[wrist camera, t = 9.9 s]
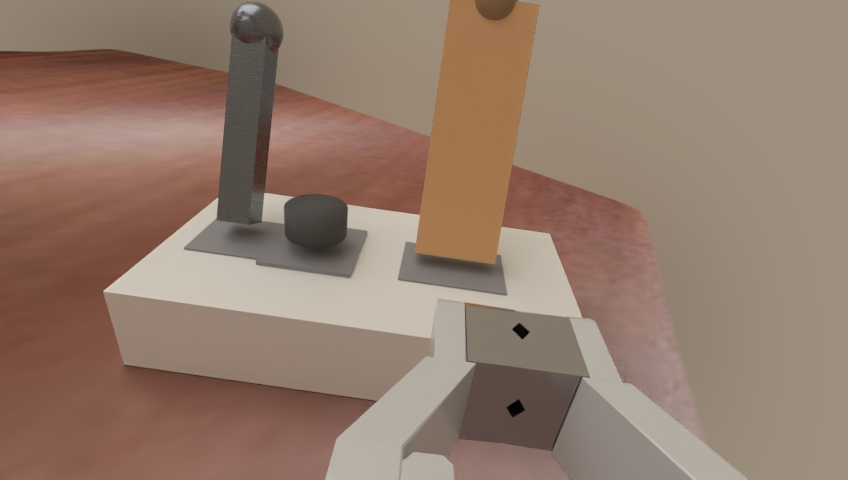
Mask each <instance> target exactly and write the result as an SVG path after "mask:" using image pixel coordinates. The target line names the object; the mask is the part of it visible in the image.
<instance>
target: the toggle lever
mask: <svg viewBox="0 0 848 480" xmlns="http://www.w3.org/2000/svg"><path fill="white" fill-rule="evenodd" d="M230 31H231V35H232V41H231V53H230V65H229V77H228V89H227V101H226V113H225V125H224V136H223V148H222V160H221V172H220V184H219V196H218V208H217V220H218V221H225V222H232V223H239V224H246V225H251V224H256V223H261V222H262V213H263V202H264V192H265V182H266V171H267V161H268V151H269V140H270V130H271V120H272V109H273V99H274V89H275V78H276V68H277V58H278V48H279V47H280V45H281V43H282V40H283V27H282V24H281V21H280V19H279V17H278V16H277V14H276V13H275V12H274V11H273V10H272V9H271V8H269V7H268V6H266V5H264V4H262V3H259V2H246V3H243V4H241V5H240V6H239V7H237V8H236V9H235V11H234V12H233V14H232V16H231V19H230Z"/></svg>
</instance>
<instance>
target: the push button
mask: <svg viewBox="0 0 848 480" xmlns="http://www.w3.org/2000/svg"><path fill="white" fill-rule="evenodd" d="M347 218H348V206H347V205H346V203H345V202H343V201H342V200H340V199H338V198H335V197H332V196H327V195H319V194H310V195H302V196H297V197H294V198H292V199H290V200H288V201H287V202H286V203H285V205H284V225H285V236H286V238H287V239H288V240H289V241H290V242H292V243H294V244H296V245H299V246H303V247H308V248H324V247H330V246H333V245H336V244H339V243H340V242H342V241H343V240H344V239H345V238H346V236H347Z"/></svg>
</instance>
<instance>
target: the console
mask: <svg viewBox="0 0 848 480" xmlns="http://www.w3.org/2000/svg"><path fill="white" fill-rule="evenodd" d="M292 198H294V197H289V196H282V195H275V194H268V193H264V202H263V213H262V222H261V223H256V224H251V225H246V224H239V223H232V222H225V221H218V220H217V208H218V198H217V199H216V200H214V201H213V202H212V203H211V204H209V205H208V206H207V207H206V208H204V209H203V210H202V211H201V212H200V213H198V214H197V215H196V216H195V217H193V218H192V219H191V220H190V221H189V222H187V223H186V224H185V225H184V226H182V227H181V228H180V229H179V230H178V231H176V232H175V233H174V234H173V235H171V236H170V237H169V238H168V239H167V240H165V241H164V242H163V243H162V244H160V245H159V246H158V247H157V248H156V249H154V250H153V251H152V252H151V253H149V254H148V255H147V256H146V257H145V258H143V259H142V260H141V261H140V262H138V263H137V264H136V265H135V266H134V267H132V268H131V269H130V270H129V271H127V272H126V273H125V274H124V275H123V276H121V277H120V278H119V279H118V280H116V281H115V282H114V283H113V284H111V285H110V286H109V287H108V288H107V289H105V290H104V291H103V293H104V297H105V300H106V304H107V307H108V311H109V314H110V318H111V321H112V325H113V328H114V332H115V335H116V339H117V342H118V346H119V349H120V353H121V356H122V359H123V363H124V365H130V366H137V367H144V368H151V369H158V370H165V371H172V372H179V373H186V374H193V375H200V376H207V377H214V378H221V379H228V380H235V381H242V382H249V383H256V384H263V385H270V386H277V387H284V388H291V389H298V390H305V391H312V392H319V393H326V394H333V395H340V396H347V397H354V398H361V399H368V400H375V401H378V400H379V399H380V398H381V397H382V396H383V395H384V394H386V393H387V392H388V391H389V390H390V389H391V388H392V387H393V386H394V385H395V384H396V383H398V382H399V381H400V380H401V379H402V378H403V377H404V376H405V375H406V374H407V373H408V372H410V371H411V370H412V369H413V368H414V367H415V366H416V365H417V364H418V363H419V362H420V361H422V360H423V359H424V358H425V357H426V356H428V351H429V344H430V338H431V332H432V327H433V321H434V315H435V309H436V303H437V300H438V299H445V300H452V301H460V302H463V303H464V302H467V303H473V304H479V305H486V306H492V307H499V308H505V309H511V310H515V311H522V312H530V313H538V314H546V315H554V316H562V317H565V316H568V317H578V318H582V315H581V313H580V310H579V307H578V305H577V302H576V300H575V297H574V295H573V292H572V290H571V287H570V284H569V282H568V279H567V277H566V274H565V272H564V269H563V267H562V264H561V262H560V259H559V256H558V254H557V251H556V249H555V246H554V244H553V241H552V239H551V236H550V234H548V233H541V232H534V231H527V230H520V229H513V228H506V227H501V233H500V239H499V244H498V250H497V256H496V262H495V264H490V263H483V262H476V261H469V260H462V259H455V258H448V257H441V256H434V255H427V254H420V253H415V247H416V240H417V233H418V226H419V218H420V215H415V214H408V213H401V212H394V211H387V210H380V209H373V208H366V207H359V206H352V205H347V206H348V218H347V236H346V238H345V239H344V240H343V241H342V242H340V243H339V244H336V245H333V246H330V247H324V248H308V247H303V246H299V245H296V244H294V243H292V242H290V241H289V240H288V239H287V238H286V236H285V225H284V205H285V203H286V202H287V201H288V200H290V199H292Z"/></svg>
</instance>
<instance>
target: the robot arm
mask: <svg viewBox="0 0 848 480" xmlns="http://www.w3.org/2000/svg"><path fill="white" fill-rule="evenodd" d="M458 439H466V440H476V441H485V442H495V443H505V444H510V445H516V446H522V447H529V448H535V449H541V450H547V451H552V453H551V454H552V455H553V457H554V458H555V459H556V461H557V462H558V463H559V465H560V466H561V468H562V469H563V470H564V472H565V473H566V475H567V476H568V477H569V479H570V480H749V479H747V478H746V477H745V476H744V475H742V474H741V473H740V472H739V471H737V470H736V469H735V468H734V467H733V466H731V465H730V464H729V463H728V462H727V461H725V460H724V459H723V458H722V457H720V456H719V455H718V454H716V453H715V452H714V451H713V450H712V449H711V448H709V447H708V446H707V445H706V444H704V443H703V442H702V441H701V440H700V439H698V438H697V437H696V436H695V435H693V434H692V433H691V432H690V431H689V430H687V429H686V428H685V427H684V426H682V425H681V424H680V423H679V422H678V421H676V420H675V419H674V418H673V417H671V416H670V415H669V414H668V413H667V412H665V411H664V410H663V409H662V408H660V407H659V406H658V405H657V404H655V403H654V402H653V401H652V400H651V399H649V398H648V397H647V396H646V395H644V394H643V393H642V392H641V391H640V390H638V389H637V388H636V387H635V386H633V385H632V384H628V383H623V381H622V379H621V377H620V375H619V373H618V370H617V368H616V366H615V364H614V362H613V359H612V357H611V355H610V353H609V351H608V348H607V346H606V344H605V342H604V340H603V337H602V335H601V333H600V331H599V329H598V326H597V324H596V322H595V321H593V320H592V319H587V318H578V317H568V316H565V317H562V316H554V315H546V314H538V313H530V312H522V311H515V310H511V309H505V308H499V307H492V306H486V305H479V304H473V303H467V302H464V303H463V302H460V301H452V300H445V299H438V300H437V303H436V309H435V315H434V321H433V327H432V332H431V338H430V344H429V351H428V356H426V357H425V358H424V359H423V360H422V361H420V362H419V363H418V364H417V365H416V366H415V367H414V368H413V369H412V370H411V371H410V372H408V373H407V374H406V375H405V376H404V377H403V378H402V379H401V380H400V381H399V382H398V383H396V384H395V385H394V386H393V387H392V388H391V389H390V390H389V391H388V392H387V393H386V394H384V395H383V396H382V397H381V398H380V399H379V400H378V401H377V402H376V403H375V404H374V405H372V406H371V407H370V408H369V409H368V410H367V411H366V412H365V413H364V414H363V415H362V416H360V417H359V418H358V419H357V420H356V421H355V422H354V423H353V424H352V425H351V426H350V427H349V428H347V429H346V430H345V431H344V432H343V433H342V434H341V435H340V436H339V437H338V438H337V439H336V442H335V446H334V450H333V453H332V457H331V460H330V464H329V468H328V471H327V475H326V478H325V480H454V465H453V464H452V463H451V462H450V461H449V460H448V459H447V457H448V455H449V454H450V452H451V451H452V449H453V448H454V446H455V445H456V443H457V442H458Z"/></svg>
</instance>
